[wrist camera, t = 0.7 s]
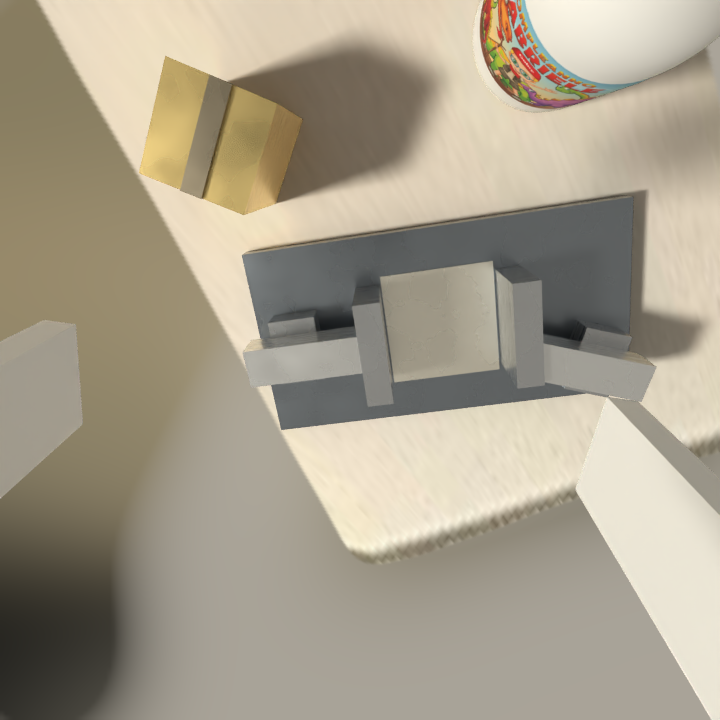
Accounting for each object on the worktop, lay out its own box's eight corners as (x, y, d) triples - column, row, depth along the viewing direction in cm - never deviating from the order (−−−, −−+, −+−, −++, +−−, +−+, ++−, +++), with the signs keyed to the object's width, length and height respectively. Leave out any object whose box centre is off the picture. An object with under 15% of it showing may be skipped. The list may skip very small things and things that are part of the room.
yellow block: (219, 84, 29) (163, 55, 22) (302, 119, 30) (276, 103, 22) (196, 171, 31) (137, 173, 23) (275, 203, 32) (242, 215, 24)
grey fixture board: (245, 252, 33) (219, 268, 27) (624, 195, 31) (674, 201, 25) (282, 422, 37) (267, 464, 31) (619, 381, 35) (662, 419, 30)
